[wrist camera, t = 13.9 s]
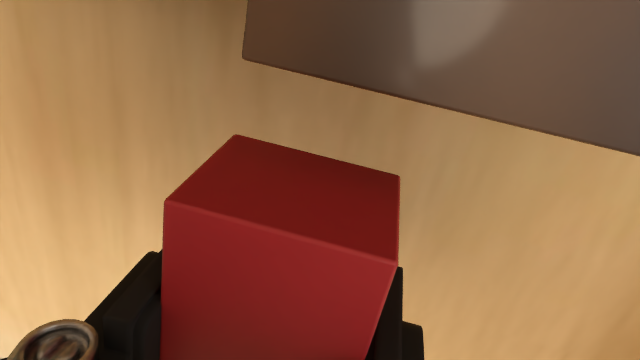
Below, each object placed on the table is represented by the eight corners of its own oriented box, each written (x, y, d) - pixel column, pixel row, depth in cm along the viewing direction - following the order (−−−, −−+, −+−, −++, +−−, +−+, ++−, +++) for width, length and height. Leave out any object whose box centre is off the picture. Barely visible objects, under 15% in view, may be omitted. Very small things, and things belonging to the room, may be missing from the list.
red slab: (210, 354, 14) (154, 463, 11) (234, 132, 10) (161, 199, 7) (332, 390, 13) (312, 513, 10) (401, 174, 10) (399, 263, 7)
